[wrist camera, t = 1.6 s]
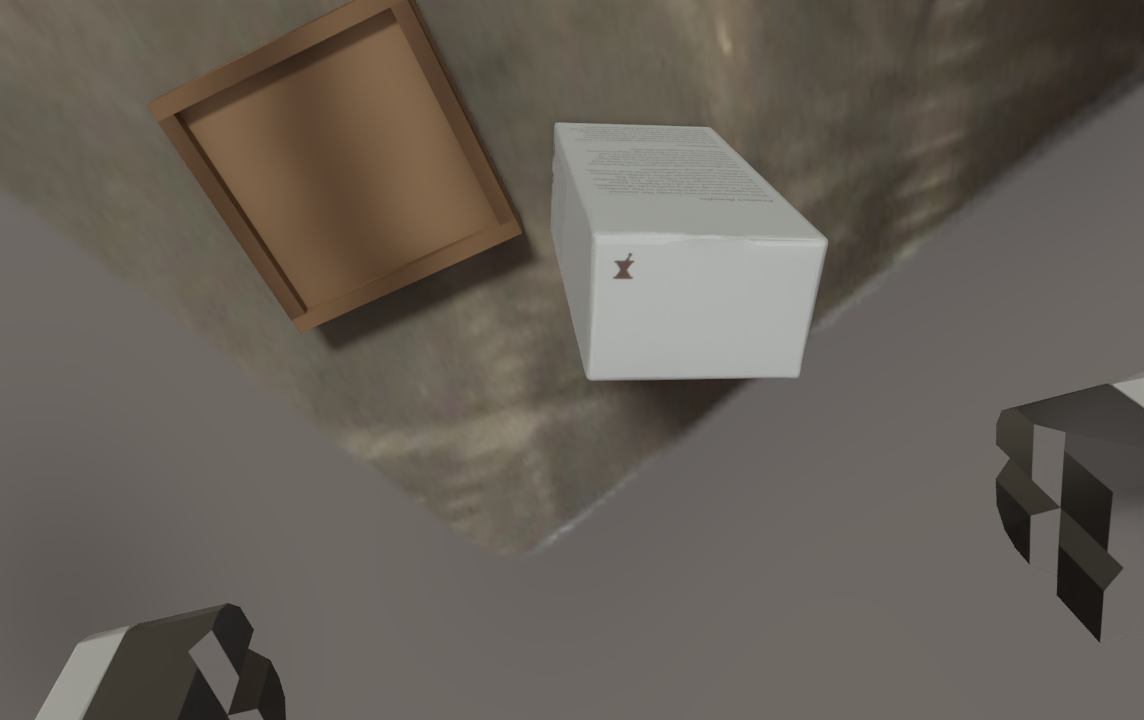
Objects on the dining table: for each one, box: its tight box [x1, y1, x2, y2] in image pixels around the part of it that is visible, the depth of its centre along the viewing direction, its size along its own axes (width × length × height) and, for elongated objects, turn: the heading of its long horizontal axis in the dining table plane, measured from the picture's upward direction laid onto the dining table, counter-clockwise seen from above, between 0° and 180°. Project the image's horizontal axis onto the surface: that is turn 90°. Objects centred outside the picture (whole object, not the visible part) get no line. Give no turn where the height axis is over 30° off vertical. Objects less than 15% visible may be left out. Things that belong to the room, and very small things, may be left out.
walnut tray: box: [147, 0, 522, 333], centre depth 30 cm, size 9×9×2 cm
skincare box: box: [550, 122, 828, 381], centre depth 27 cm, size 6×4×12 cm
